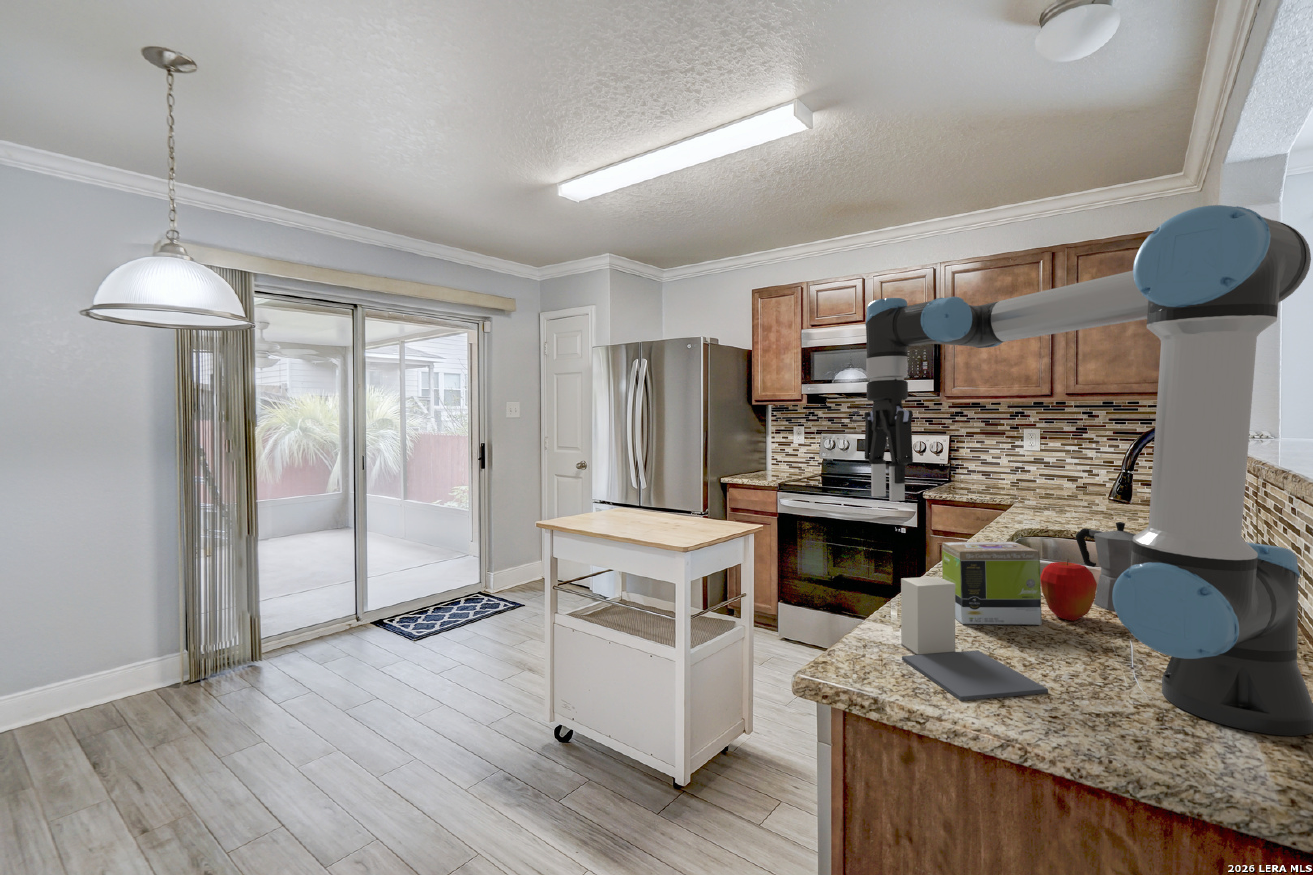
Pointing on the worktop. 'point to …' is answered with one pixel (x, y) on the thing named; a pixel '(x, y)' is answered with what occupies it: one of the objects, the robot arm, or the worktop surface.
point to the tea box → (994, 582)
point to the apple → (1068, 589)
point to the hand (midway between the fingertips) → (887, 498)
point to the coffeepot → (1107, 559)
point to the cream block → (927, 615)
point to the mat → (973, 675)
